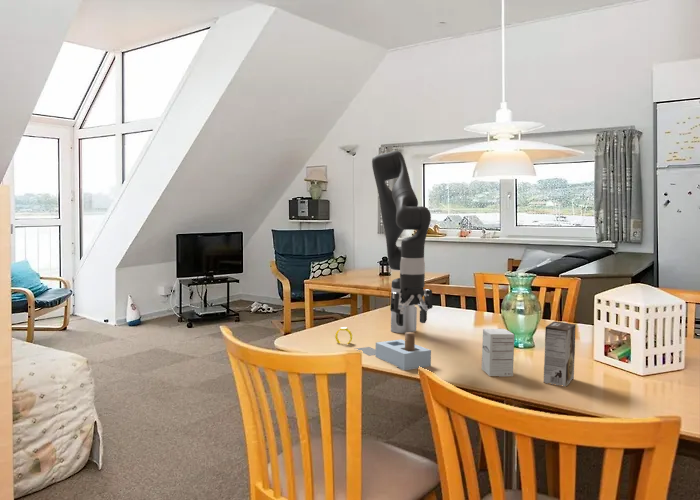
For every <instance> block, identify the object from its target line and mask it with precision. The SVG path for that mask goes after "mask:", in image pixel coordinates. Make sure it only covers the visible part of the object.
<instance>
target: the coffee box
mask: <svg viewBox="0 0 700 500" xmlns="http://www.w3.org/2000/svg"><path fill="white" fill-rule="evenodd" d="M576 325H577V324H575V323H568V322H563V321H553V322H551V323H550V324H548V325H546V326H545V331H544V333H545V334H544V335H545V336H544V338H545V339H544V360H543V362H544V365H543V383H544V382H545V383H544V384H548V383H551V384H550V385H553V384H556V385H555V386H558V385H563V386H562V387H564V386H566V387H567V386H568V385H570V383H571V382H572V381H573V380H574V378H575V357H576V356H575V355H576V354H575V352H576ZM572 379H573V380H572ZM571 380H572V381H571ZM570 381H571V382H570Z"/></svg>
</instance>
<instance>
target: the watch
mask: <svg viewBox="0 0 700 500" xmlns="http://www.w3.org/2000/svg"><path fill="white" fill-rule="evenodd" d="M340 331H345V332H347V333H348V335H349V341H348V342H347V343H346V344H347V345H349V344H350V343H351V342H353V341H352V340H353V334H352V332H351V330H350V329H348V327H347V326H341V327H339V329H338V330H337V331H336V333H335V335H334V339H335V342H336V343H338V344H341V341H340V340H339V338H338V335H339V332H340Z"/></svg>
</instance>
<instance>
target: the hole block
mask: <svg viewBox="0 0 700 500" xmlns="http://www.w3.org/2000/svg"><path fill="white" fill-rule="evenodd" d="M375 349H376V351H375V355H374V356H375V358H378V359H380V360H382V361H384V362H387V363H388V364H391V365H394V366H396V368H397V369H399V370H403V371H408V370H415V369H419V368H418V367H419V366H420V367H422V368H429V367H431V366H432V365H431V364H432V350H431V349H430V348H425V347H423V346H421V345H418V344H415V351H409V352H408V351H406V350H405V339H394V340H386V341H385V340H384V341H378V342H375Z"/></svg>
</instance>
